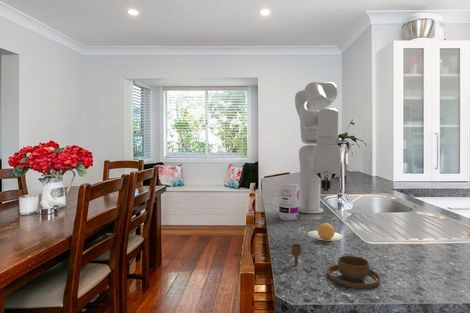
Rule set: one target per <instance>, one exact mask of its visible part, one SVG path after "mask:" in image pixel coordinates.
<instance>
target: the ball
mask: <svg viewBox="0 0 470 313" xmlns="http://www.w3.org/2000/svg"><path fill="white" fill-rule="evenodd" d="M317 231H318V235H319V236H320V237H321V238H322V239H324V240H329V239H331V238H332V237H333V236H334V233H335V228H334V227H333V225H331V224H330V223H328V222H324V223H322V224H320V225H319V226H318V228H317ZM324 240H323V241H324Z"/></svg>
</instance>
